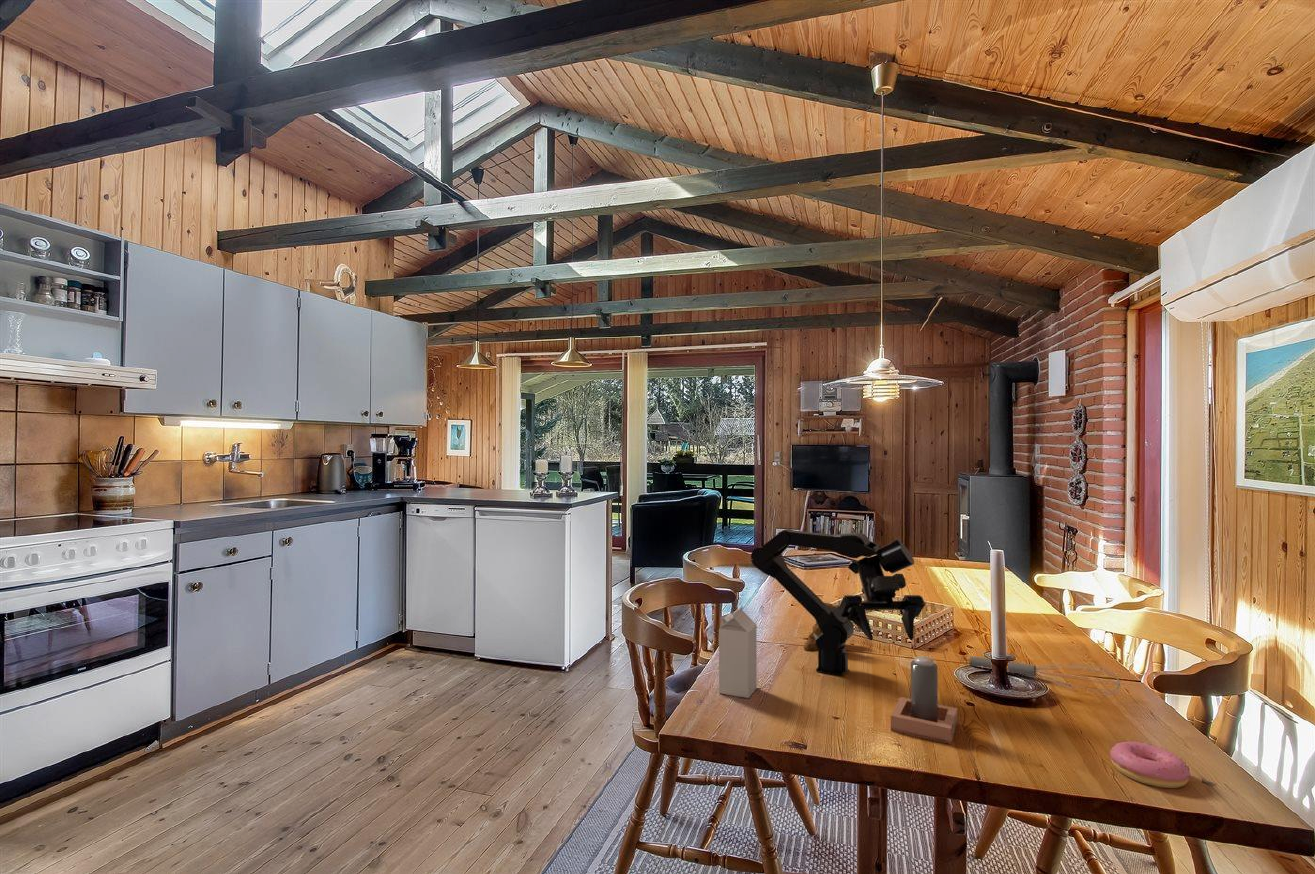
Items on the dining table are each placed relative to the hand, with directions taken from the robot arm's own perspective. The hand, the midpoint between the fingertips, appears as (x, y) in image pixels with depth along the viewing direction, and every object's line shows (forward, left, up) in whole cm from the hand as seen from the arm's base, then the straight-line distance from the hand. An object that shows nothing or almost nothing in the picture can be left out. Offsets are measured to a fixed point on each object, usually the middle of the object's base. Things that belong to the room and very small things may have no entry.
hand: (891, 639), depth 138 cm
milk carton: (-32, -14, -14) cm, 37 cm away
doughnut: (+44, -10, -14) cm, 47 cm away
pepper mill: (+8, -11, -13) cm, 19 cm away
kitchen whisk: (+28, +31, -14) cm, 44 cm away
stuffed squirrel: (-23, +29, -14) cm, 40 cm away
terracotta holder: (+8, -11, -14) cm, 19 cm away
